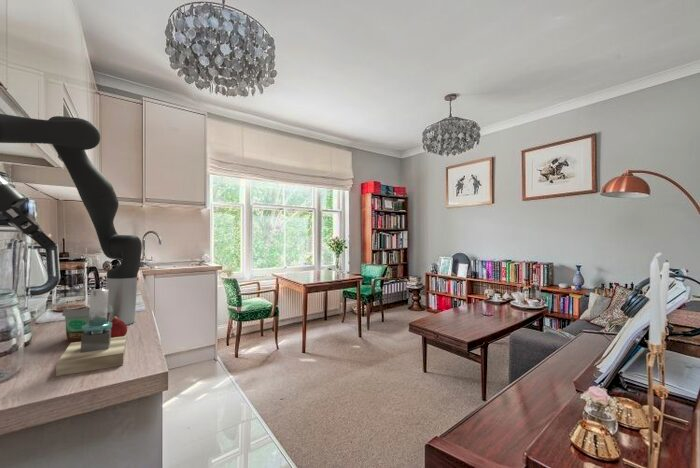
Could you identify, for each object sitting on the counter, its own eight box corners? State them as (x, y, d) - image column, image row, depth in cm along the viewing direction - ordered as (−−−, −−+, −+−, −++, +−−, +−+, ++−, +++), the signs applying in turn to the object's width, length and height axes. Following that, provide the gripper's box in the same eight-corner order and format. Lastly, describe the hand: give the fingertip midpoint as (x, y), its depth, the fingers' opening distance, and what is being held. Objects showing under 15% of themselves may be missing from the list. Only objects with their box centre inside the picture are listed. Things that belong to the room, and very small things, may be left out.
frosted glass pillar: (82, 345, 77) (86, 289, 78) (111, 341, 81) (115, 287, 81) (78, 352, 72) (82, 292, 73) (109, 348, 76) (113, 290, 76)
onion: (131, 340, 91) (132, 314, 92) (114, 347, 86) (116, 319, 86) (114, 339, 92) (115, 314, 92) (96, 345, 86) (98, 318, 87)
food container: (51, 345, 85) (53, 311, 86) (61, 339, 91) (64, 306, 91) (104, 341, 90) (106, 308, 91) (111, 335, 96) (113, 304, 96)
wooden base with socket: (70, 354, 79) (71, 327, 80) (125, 346, 86) (127, 322, 87) (55, 376, 66) (58, 344, 67) (122, 365, 73) (124, 336, 74)
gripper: (3, 176, 62) (68, 236, 68) (12, 187, 72) (68, 239, 79) (-43, 195, 58) (30, 257, 64) (-27, 204, 68) (35, 257, 74)
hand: (51, 247), depth 71 cm, fingers open, 8 cm apart
